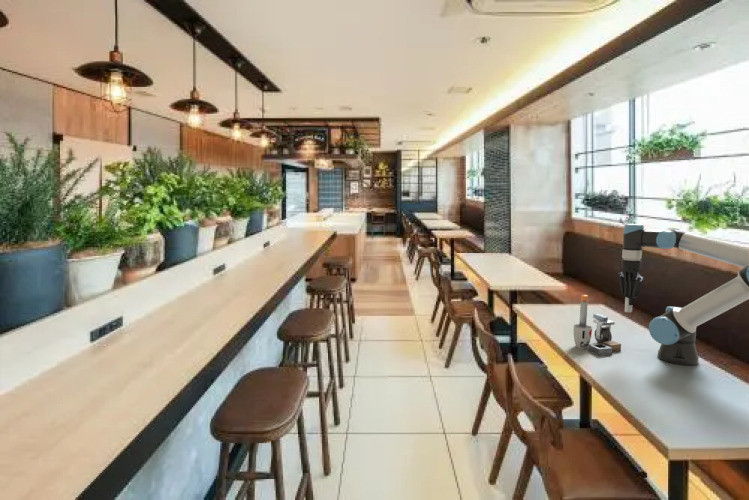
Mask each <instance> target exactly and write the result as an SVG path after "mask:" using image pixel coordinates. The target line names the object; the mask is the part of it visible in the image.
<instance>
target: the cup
mask: <svg viewBox="0 0 749 500" xmlns="http://www.w3.org/2000/svg"><path fill="white" fill-rule="evenodd" d="M592 333H593V327H592V326H591V325H588V324H586V327H579V324H578V323H577V324H573V340H574V341H573V342H574V344H575V348H577V349H579V350H580V349H581V350H585V349H587V350H588V344H591V343H590V342H591V338H592Z"/></svg>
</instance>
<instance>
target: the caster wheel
mask: <svg viewBox="0 0 749 500" xmlns="http://www.w3.org/2000/svg"><path fill="white" fill-rule="evenodd" d="M592 318H593V323H595V324H596V328H595V331H594V339H595V341H596V342H597V343H602V342H607V341H613V339H612V338H613V336H612V332H611V326H614V325H615V324H616V323H615V321H613V320H611V319H609V317H608V316H605V315H602V314H600V313H593V316H592ZM604 326H605V327H604Z"/></svg>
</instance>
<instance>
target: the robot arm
mask: <svg viewBox="0 0 749 500" xmlns="http://www.w3.org/2000/svg"><path fill="white" fill-rule="evenodd" d="M622 236H623V237H622V240H623V241H622V254H621V258H622V259H621V268H622V270H621V272H617V276H618V277H617V278H618V280H619V290H620V294H621V295H622V296H623V297H624V298H623V299H624V300H623V301H624V302H623V303H624V313H633V306H634V302H635V299H636V298H638V297H639V295H640V291H641V289H642V286H643V281H644V280H645V277H644V276H641V272H640V269H641V268H642V256H643V248H654V249H655V248H656V249H660V250H661V249H662V250H664V249H669V250H670V249H673V248H675V249H678V250H682V251H685V252H689V253H692V254H696V255H699V256H701V257H702V256H703V257H706V258H709V259H712V260H716V261H720V262H723V263H725V264H728V265H732V266H736V267H740V268H741V269H740V270H738V271H737V276H736V277H734V278H733V279H731V280H729V281H727V282H726V283H723V284H722V285H720V286H719V287H717V288H715V289H713V290H711V291H710V292H708V293H705V294H704V295H703V296H701V297H699V298H697V299H696V300H694V301H692V302H691V303H688V304H687V305H685V306H683V307H680V306H666V308H665V311H664V312H665V313H663V314H661V315H659V316H655V317H653V319H652V320H651V321H650V322H649V324H648V332H649V335H650V337H651V338H652V340H654V341H656V342H657V343H658V344H660V346H659V348H658V350H657V357H658V358H659V359H660V360H661V361H664V362H667V363H671V364H675V365H681V366H696V365H698V364H699V355H698V352H697V348H696V338H697V337H696V336H697V327H698V326H700V325H702V324H704V323H706V322H708V321H710V320H712V319H714V318H716V317H717V316H720V315H721V314H723V313H725V312H727V311H729V310H731V309H733V308H734V307H737V306H738V305H740V304H743V303H744V302H746V301H748V300H749V248H746V247H743V246H739V245H735V244H732V243H728V242H725V241H719V240H715V239H712V238H709V237H705V236H702V235H697V234H693V233H690V232H685V231H683V230H681V229H679V228H674V227H669V228H665V229H664V228H663V229H645V228H644V224H643V223H641V224H640V223H627V224H625V225H624V227H623V234H622Z"/></svg>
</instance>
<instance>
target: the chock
mask: <svg viewBox="0 0 749 500" xmlns="http://www.w3.org/2000/svg"><path fill="white" fill-rule="evenodd" d="M602 344H604V345H607V346H609V347H611V348H612V353H615V352H621V351H622V343H619V342H617V341H615V340H611V341H607V342H602Z"/></svg>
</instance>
